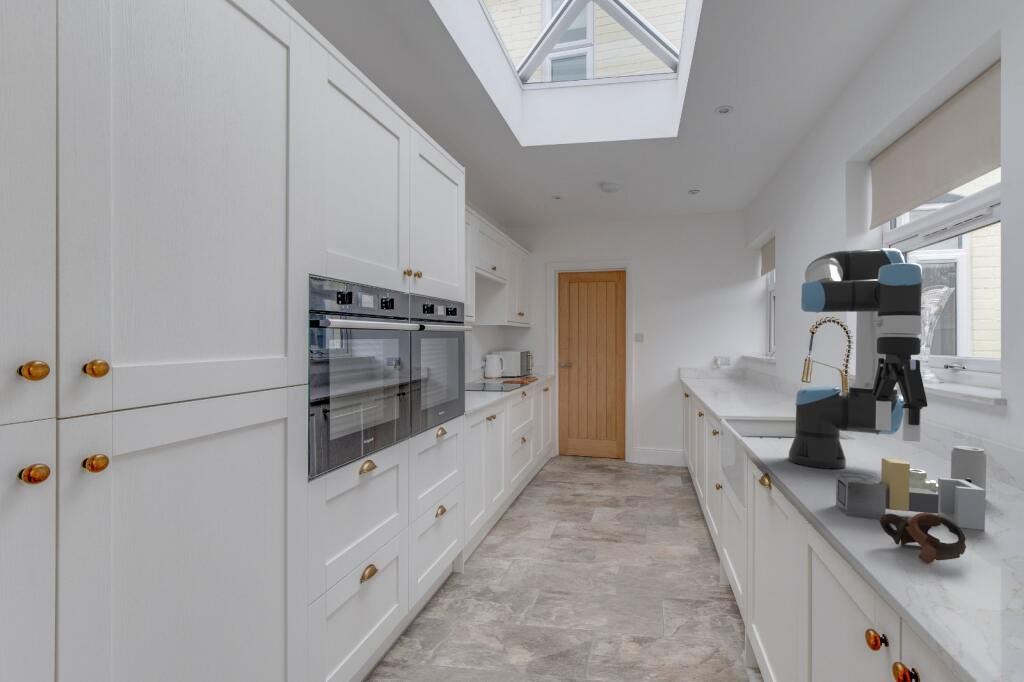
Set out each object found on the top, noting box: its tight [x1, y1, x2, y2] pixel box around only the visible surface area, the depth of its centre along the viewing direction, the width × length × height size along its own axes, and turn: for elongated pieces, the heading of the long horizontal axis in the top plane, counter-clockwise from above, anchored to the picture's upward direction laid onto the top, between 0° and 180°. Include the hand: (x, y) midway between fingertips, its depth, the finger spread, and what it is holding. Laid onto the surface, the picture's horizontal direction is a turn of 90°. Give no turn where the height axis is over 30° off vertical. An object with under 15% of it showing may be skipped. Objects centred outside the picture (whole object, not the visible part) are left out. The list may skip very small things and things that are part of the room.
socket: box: [936, 477, 987, 531], centre depth 107 cm, size 8×4×8 cm, turn 164°
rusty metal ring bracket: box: [879, 512, 967, 564], centre depth 90 cm, size 12×9×8 cm
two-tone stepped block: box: [838, 457, 939, 515], centre depth 110 cm, size 4×17×10 cm, turn 74°
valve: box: [909, 468, 972, 494], centre depth 121 cm, size 7×7×12 cm
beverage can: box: [950, 445, 987, 498], centre depth 125 cm, size 6×6×12 cm
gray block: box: [835, 472, 886, 520], centre depth 112 cm, size 7×7×7 cm
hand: (896, 435), depth 110 cm, fingers open, 13 cm apart
